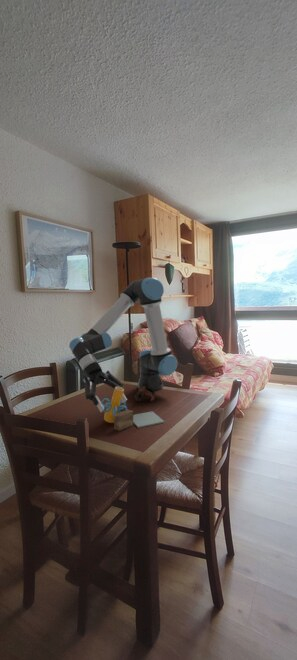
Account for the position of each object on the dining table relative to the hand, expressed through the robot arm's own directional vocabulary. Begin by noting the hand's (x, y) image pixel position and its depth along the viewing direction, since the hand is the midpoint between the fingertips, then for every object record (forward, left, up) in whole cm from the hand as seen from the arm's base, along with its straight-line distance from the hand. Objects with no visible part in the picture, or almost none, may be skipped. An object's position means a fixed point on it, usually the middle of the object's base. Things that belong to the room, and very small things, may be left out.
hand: (114, 405), depth 128 cm
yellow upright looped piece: (+2, -2, -7) cm, 7 cm away
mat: (-13, +3, -7) cm, 15 cm away
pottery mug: (-21, -21, -8) cm, 31 cm away
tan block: (-2, +6, -7) cm, 10 cm away
